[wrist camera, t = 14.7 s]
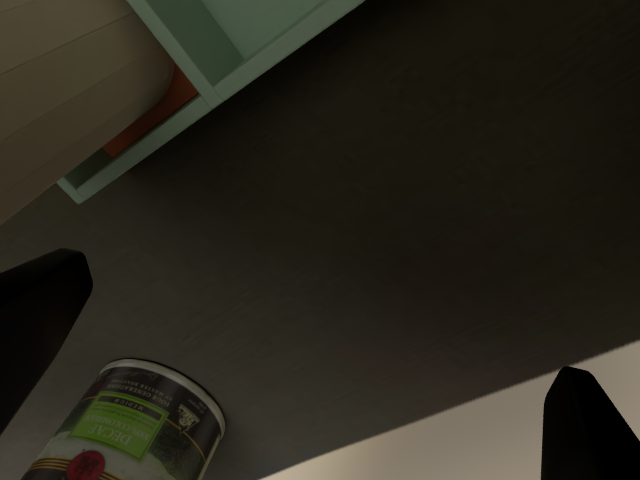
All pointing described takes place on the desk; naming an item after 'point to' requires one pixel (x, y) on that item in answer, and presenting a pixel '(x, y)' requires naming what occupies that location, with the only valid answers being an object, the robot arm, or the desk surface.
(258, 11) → the divided box
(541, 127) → the desk surface
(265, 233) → the desk surface
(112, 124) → the jar
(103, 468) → the coffee can
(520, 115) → the desk surface
